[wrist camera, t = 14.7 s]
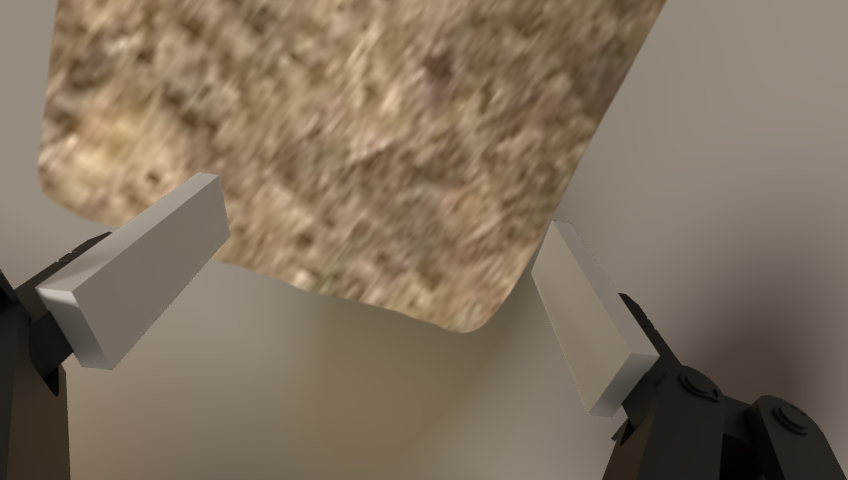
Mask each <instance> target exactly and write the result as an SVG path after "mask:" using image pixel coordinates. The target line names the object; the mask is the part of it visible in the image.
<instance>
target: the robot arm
mask: <svg viewBox="0 0 848 480" xmlns="http://www.w3.org/2000/svg"><path fill="white" fill-rule="evenodd" d="M229 237H230V231H229V225H228V220H227V214H226V209H225V203H224V198H223V192H222V186H221V181H220V175H215V174H208V173H201V172H198V173H197V174H195V175H194V176H192V177H191V178H190V179H188V180H187V181H185V182H184V183H182V184H181V185H180V186H178V187H177V188H175V189H174V190H173V191H171V192H170V193H168V194H167V195H165V196H164V197H163V198H161V199H160V200H158V201H157V202H155V203H154V204H153V205H151V206H150V207H148V208H147V209H146V210H144V211H143V212H141V213H140V214H138V215H137V216H136V217H134V218H133V219H131V220H130V221H128V222H127V223H126V224H124V225H123V226H121V227H120V228H119V229H117V230H116V231H114V232H107V233H104V234H102V235H100V236H97V237H95V238H92V239H89V240H87V241H86V242H84V243H83V244H81V245H80V246H78V247H77V248H75V249H74V250H73V251H72V253H68V254H66V255H65V256H63V257H62V258H61V259H59V262H55V263H53V264H52V265H50V266H49V267H47V268H46V269H45V270H43V271H41V272H40V273H38V274H37V275H36V276H34V277H32V278H31V279H30V280H28V281H27V282H25V283H23V284H22V285H20V286H19V287H18V288H16V289H15V290H13V288H12V287H11V285H10V284H9V282H8V280H7V279H6V277H5V276H4V274H3V273H2V271H1V269H0V480H70V458H69V436H68V435H69V434H68V411H67V388H66V372H65V370H64V368H63V366H62V365H61V363H62V362H63V361H64V360H65V359H66V358H67V357H68V356H69V355H70V354H72V353H74V355H75V356H76V358H77V360H78V361H79V363H80V365H81V367H87V368H97V369H108V370H113V369H114V368H115V367H116V365H117V364H118V363H119V362H120V361H121V359H123V357H124V356H125V355H126V354H127V353H128V352H129V351H130V350H131V348H132V347H133V346H134V345H135V344H136V343H137V341H138V340H139V339H140V338H141V337H142V336H143V335H144V334H145V332H146V331H147V330H148V329H149V328H150V327H151V326H152V324H153V323H154V322H155V321H156V320H157V319H158V317H159V316H160V315H161V314H162V313H163V312H164V311H165V309H166V308H167V307H168V306H169V305H170V304H171V303H172V302H173V301H174V299H175V298H176V297H177V296H178V295H179V294H180V293H181V291H182V290H183V289H184V288H185V287H186V286H187V285H188V283H189V282H190V281H191V280H192V279H193V278H194V277H195V275H196V274H197V273H198V272H199V271H200V270H201V268H202V267H203V266H204V265H205V264H206V263H207V262H208V261H209V259H210V258H211V257H212V256H213V255H214V254H215V253H216V251H217V250H218V249H219V248H220V247H221V246H222V245H223V244H224V242H225V241H226V240H227V239H228V238H229ZM531 274H532V277H533V279H534V282H535V284H536V287H537V289H538V292H539V294H540V296H541V299H542V302H543V304H544V307H545V309H546V312H547V314H548V317H549V319H550V322H551V324H552V327H553V330H554V332H555V335H556V337H557V340H558V342H559V345H560V347H561V350H562V352H563V355H564V357H565V360H566V362H567V365H568V367H569V370H570V372H571V375H572V377H573V380H574V382H575V385H576V387H577V390H578V392H579V395H580V398H581V400H582V403H583V405H584V408H585V410H586V413H587V415H594V416H605V417H613V416H614V414H615V413H616V412H617V411H618V409H619V408H620V407H621V405H623V408H624V410H625V412H626V414H627V416H628V419H627V420H626V421H625V422H624V423H623V425H622V426H621V427H620V428H619V429H618V431H617V432H616V433H615V434H614V436H613V437H612V438H611V439H612V440H614V441H616V440H617V441H616V444H615V446H614V449H613V452H612V455H611V457H610V460H609V463H608V465H607V468H606V471H605V473H604V476H603V479H602V480H847V479H846V477H845V475H844V473H843V471H842V469H841V467H840V465H839V463H838V461H837V459H836V457H835V455H834V453H833V451H832V449H831V447H830V445H829V444H828V441H827V439H826V438H825V436H824V434H823V432H822V431H821V430H820V428H819V427H818V425H817V424H816V423H815V422H814V421H813V420H812V419H811V418H810V417H808V416H807V414H806V413H804V412H803V411H802V410H800V409H799V408H797V407H796V406H794V405H792V404H790V403H788V402H786V401H785V400H783V399H780V398H777V397H774V396H770V395H765V396H761V397H760V398H759V399H757V400H756V401H755V402H754V403H753V404H752V405H750V404H747V403H744V402H741V401H738V400H736V399H733V398H730V397H727V396H724V395H723V394H722V393H721V391H720V389H719V388H718V386H717V385H715V384H714V383H713V382H712V381H711V380H710V379H709V378H708V377H706V376H705V375H703V374H702V373H700V372H699V371H697V370H695V369H693V368H690V367H688V366H683V365H681V363H680V362H679V361H678V359H677V358H676V357H675V355H674V354H673V352H672V351H671V350H670V348H669V347H668V345H667V344H666V343H665V341H664V340H663V338H662V337H661V336H660V334H659V333H658V331H657V330H654V326H653V325H652V323H651V322H650V320H648V319H647V316H646V315H645V313H644V312H643V311H642V309H641V308H640V306H639V305H638V304H637V303H635V302H634V301H633V300H632V299H631V298H630V297H628V296H627V295H626V294H622V293H617V291H616V290H615V288H614V287H613V285H612V284H611V283H610V281H609V280H608V278H607V277H606V275H605V274H604V272H603V271H602V269H601V268H600V266H599V265H598V263H597V262H596V260H595V259H594V258H593V256H592V255H591V253H590V251H589V250H588V248H587V247H586V246H585V244H584V243H583V241H582V240H581V238H580V237H579V235H578V234H577V232H576V231H575V229H574V228H573V227H572V225H571V223H569V222H561V221H554V220H552V222H551V224H550V227H549V229H548V232H547V234H546V237H545V239H544V242H543V245H542V247H541V249H540V252H539V254H538V257H537V259H536V262H535V265H534V267H533V269H532V272H531Z"/></svg>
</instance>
